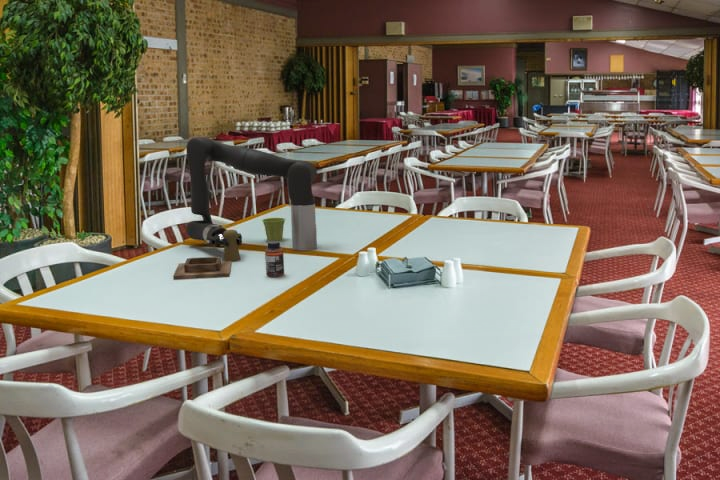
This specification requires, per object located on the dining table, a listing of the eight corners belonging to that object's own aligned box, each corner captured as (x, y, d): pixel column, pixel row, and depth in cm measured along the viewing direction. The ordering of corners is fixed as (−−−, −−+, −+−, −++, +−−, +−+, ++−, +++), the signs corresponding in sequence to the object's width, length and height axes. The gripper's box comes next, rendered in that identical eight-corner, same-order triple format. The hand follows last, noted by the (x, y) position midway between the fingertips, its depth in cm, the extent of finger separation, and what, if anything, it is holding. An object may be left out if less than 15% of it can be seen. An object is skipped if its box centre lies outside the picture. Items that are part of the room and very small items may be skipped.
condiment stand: (231, 264, 264) (230, 254, 264) (229, 276, 247) (228, 265, 246) (179, 266, 262) (178, 256, 261) (173, 279, 245) (172, 268, 244)
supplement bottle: (274, 272, 252) (273, 239, 250) (288, 274, 249) (286, 241, 246) (262, 276, 247) (260, 242, 245) (276, 278, 244) (274, 244, 242)
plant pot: (258, 242, 302) (257, 220, 300) (270, 237, 310) (269, 217, 309) (279, 243, 298) (278, 222, 297) (290, 239, 307) (289, 218, 305)
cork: (237, 262, 268) (235, 231, 266) (221, 261, 269) (219, 231, 267) (242, 258, 274) (241, 228, 271) (227, 257, 275) (225, 228, 273)
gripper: (197, 228, 277) (214, 235, 263) (233, 223, 285) (252, 230, 271) (198, 248, 279) (216, 256, 265) (234, 243, 286) (253, 250, 272)
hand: (234, 243), depth 268 cm, fingers closed on cork, 4 cm apart
